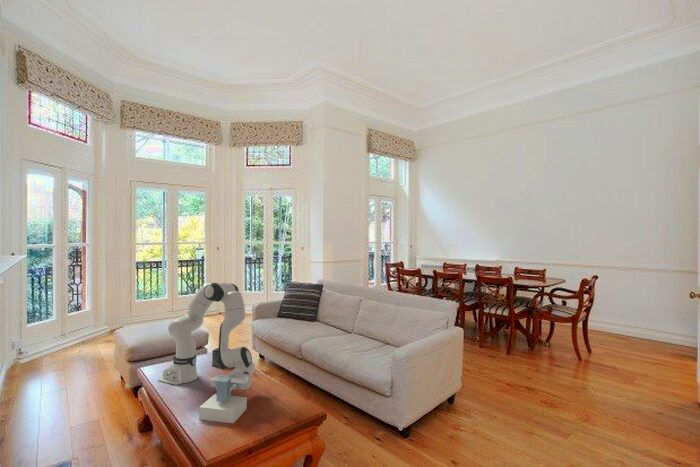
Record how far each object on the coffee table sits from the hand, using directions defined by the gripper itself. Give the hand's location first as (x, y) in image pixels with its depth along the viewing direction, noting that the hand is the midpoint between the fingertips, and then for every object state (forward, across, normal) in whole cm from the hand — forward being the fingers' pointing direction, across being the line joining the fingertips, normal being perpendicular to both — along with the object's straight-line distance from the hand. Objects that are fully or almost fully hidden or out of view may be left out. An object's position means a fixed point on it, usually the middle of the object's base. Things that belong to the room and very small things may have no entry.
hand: (223, 389), depth 175 cm
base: (-1, 0, +13) cm, 13 cm away
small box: (-60, -34, +13) cm, 70 cm away
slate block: (-1, 0, +6) cm, 6 cm away
